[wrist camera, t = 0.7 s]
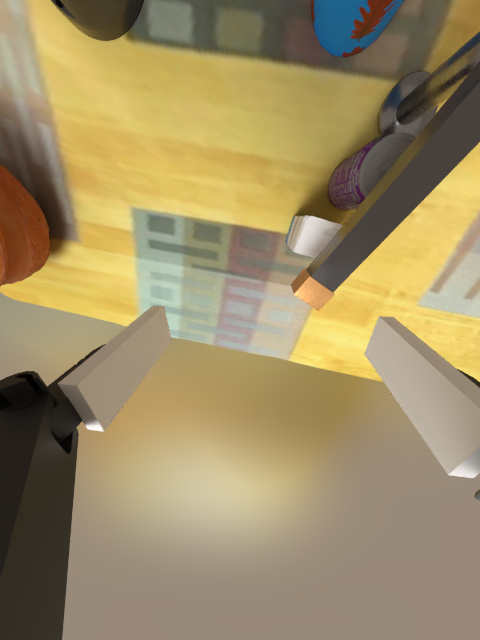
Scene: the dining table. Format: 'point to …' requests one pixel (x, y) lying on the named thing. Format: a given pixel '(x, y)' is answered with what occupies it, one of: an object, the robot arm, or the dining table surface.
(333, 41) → the thermos
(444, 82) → the post
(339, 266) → the swing bar
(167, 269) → the dining table surface
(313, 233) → the ink box
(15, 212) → the bowl
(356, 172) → the beverage can
